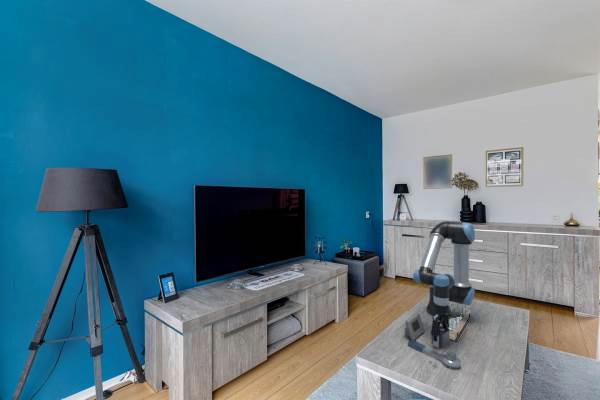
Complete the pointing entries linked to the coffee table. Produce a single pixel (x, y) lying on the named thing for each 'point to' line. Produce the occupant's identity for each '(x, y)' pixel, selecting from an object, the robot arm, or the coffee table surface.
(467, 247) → the robot arm
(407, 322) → the digital clock
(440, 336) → the socket
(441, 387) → the coffee table surface
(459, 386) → the coffee table surface
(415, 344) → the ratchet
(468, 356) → the coffee table surface
